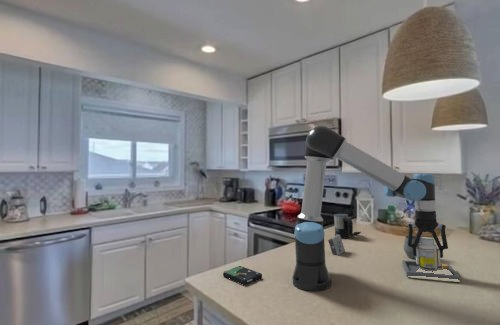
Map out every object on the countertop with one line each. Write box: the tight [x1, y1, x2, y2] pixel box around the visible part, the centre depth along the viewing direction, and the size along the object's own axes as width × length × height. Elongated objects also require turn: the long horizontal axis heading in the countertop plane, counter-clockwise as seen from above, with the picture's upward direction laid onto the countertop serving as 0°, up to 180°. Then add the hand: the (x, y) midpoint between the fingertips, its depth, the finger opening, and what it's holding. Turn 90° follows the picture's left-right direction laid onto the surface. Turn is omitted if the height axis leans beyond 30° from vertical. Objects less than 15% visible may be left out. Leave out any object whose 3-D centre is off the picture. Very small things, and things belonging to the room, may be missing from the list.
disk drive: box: [222, 265, 263, 286], centre depth 122 cm, size 10×3×15 cm
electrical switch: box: [327, 235, 346, 256], centre depth 152 cm, size 9×5×9 cm, turn 141°
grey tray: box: [401, 260, 461, 281], centre depth 118 cm, size 18×15×2 cm
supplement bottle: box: [418, 236, 438, 272], centre depth 118 cm, size 7×7×13 cm
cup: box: [403, 235, 422, 260], centre depth 139 cm, size 10×9×10 cm
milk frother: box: [333, 213, 362, 239], centre depth 185 cm, size 14×16×15 cm
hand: (428, 264), depth 118 cm, fingers closed on supplement bottle, 7 cm apart
